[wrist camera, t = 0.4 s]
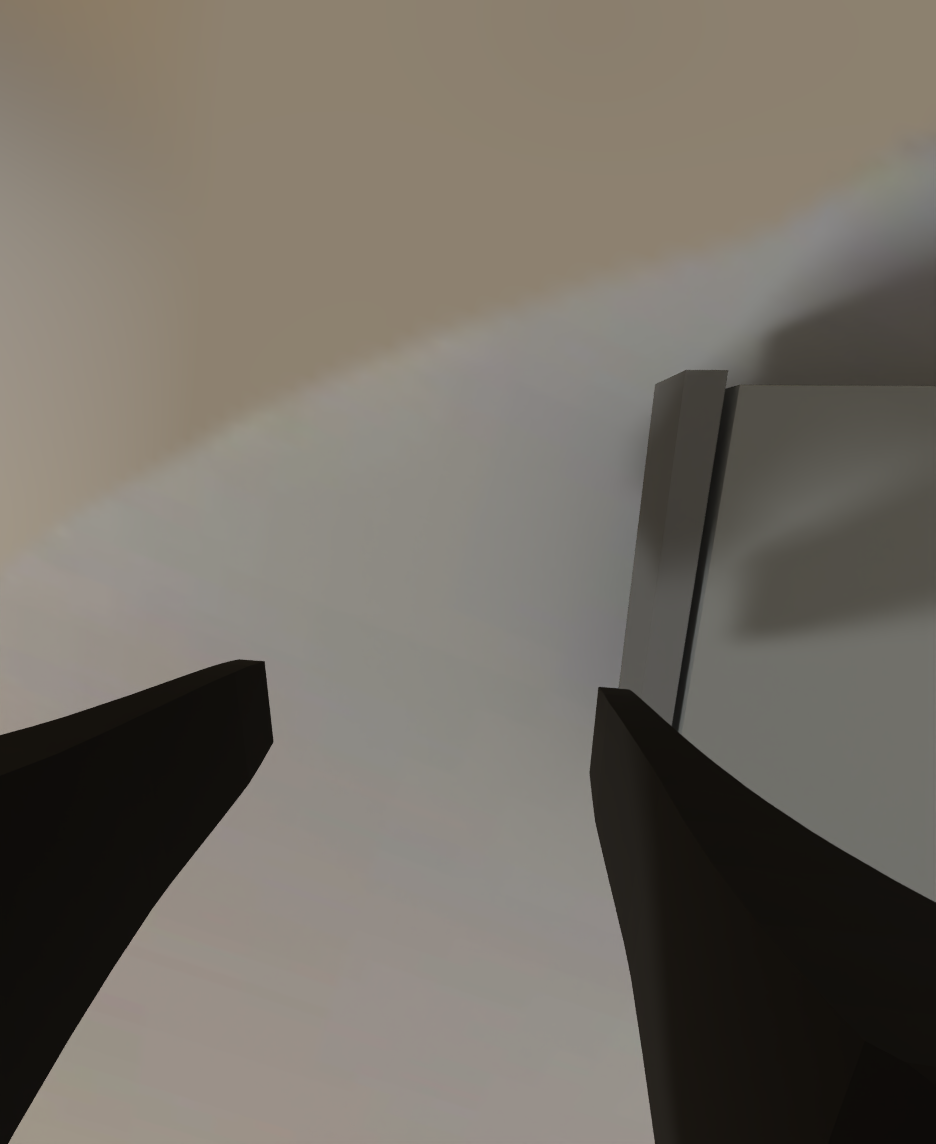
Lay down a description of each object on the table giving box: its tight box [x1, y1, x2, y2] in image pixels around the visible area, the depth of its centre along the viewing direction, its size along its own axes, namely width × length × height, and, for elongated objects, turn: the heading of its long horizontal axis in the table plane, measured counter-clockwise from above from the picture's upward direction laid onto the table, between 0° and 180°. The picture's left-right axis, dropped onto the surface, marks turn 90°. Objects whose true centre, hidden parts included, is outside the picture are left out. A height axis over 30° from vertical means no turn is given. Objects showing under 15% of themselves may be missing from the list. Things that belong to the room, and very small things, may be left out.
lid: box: [619, 370, 936, 902], centre depth 13 cm, size 13×15×3 cm
